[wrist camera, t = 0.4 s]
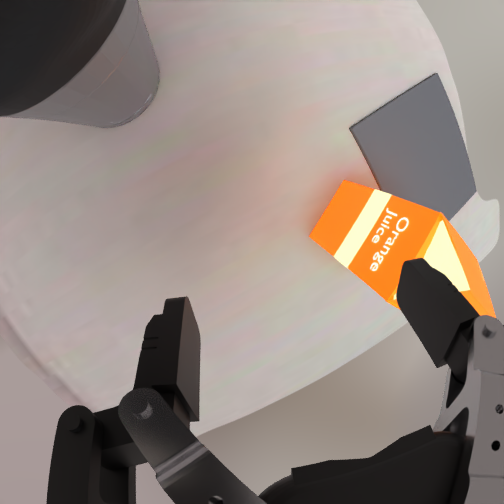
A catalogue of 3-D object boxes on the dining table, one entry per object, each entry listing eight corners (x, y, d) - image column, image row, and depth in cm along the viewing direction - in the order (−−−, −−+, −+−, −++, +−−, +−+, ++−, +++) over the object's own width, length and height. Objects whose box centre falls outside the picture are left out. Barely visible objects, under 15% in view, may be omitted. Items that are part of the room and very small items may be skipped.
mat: (349, 128, 28) (351, 128, 28) (435, 73, 28) (437, 73, 27) (407, 258, 37) (409, 259, 36) (474, 190, 36) (476, 191, 36)
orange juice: (358, 268, 35) (471, 364, 17) (307, 237, 32) (433, 346, 14) (390, 216, 34) (521, 284, 16) (344, 178, 30) (499, 234, 12)
